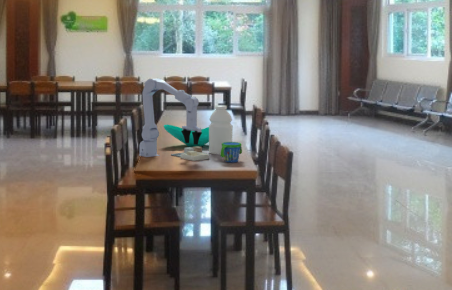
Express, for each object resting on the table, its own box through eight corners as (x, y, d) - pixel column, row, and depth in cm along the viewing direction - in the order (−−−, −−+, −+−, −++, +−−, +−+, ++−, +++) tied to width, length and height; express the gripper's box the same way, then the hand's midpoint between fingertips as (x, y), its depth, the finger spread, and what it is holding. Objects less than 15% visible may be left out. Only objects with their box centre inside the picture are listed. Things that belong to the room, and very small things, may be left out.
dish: (193, 161, 355) (193, 156, 354) (180, 159, 363) (180, 153, 363) (209, 159, 362) (209, 154, 362) (196, 156, 370) (196, 151, 370)
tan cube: (196, 154, 375) (196, 147, 375) (192, 153, 378) (192, 146, 378) (201, 153, 378) (202, 147, 377) (197, 153, 381) (197, 146, 380)
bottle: (233, 155, 378) (233, 107, 374) (209, 155, 377) (209, 106, 373) (231, 151, 392) (231, 104, 388) (208, 151, 391) (208, 104, 387)
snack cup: (227, 164, 347) (227, 145, 346) (214, 161, 355) (214, 143, 354) (248, 161, 358) (248, 143, 357) (234, 158, 366) (235, 140, 364)
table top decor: (164, 149, 395) (164, 128, 393) (162, 143, 422) (162, 122, 420) (229, 149, 400) (229, 127, 398) (223, 142, 427) (224, 122, 425)
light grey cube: (188, 155, 371) (188, 148, 371) (184, 154, 374) (184, 147, 374) (193, 154, 374) (193, 148, 374) (189, 154, 377) (189, 147, 376)
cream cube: (191, 159, 358) (191, 152, 358) (186, 158, 361) (186, 151, 361) (196, 158, 361) (196, 151, 360) (192, 157, 364) (192, 150, 363)
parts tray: (181, 158, 365) (181, 156, 364) (170, 156, 372) (170, 154, 372) (206, 155, 377) (206, 153, 376) (195, 153, 384) (195, 151, 384)
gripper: (205, 119, 355) (205, 144, 357) (189, 117, 366) (189, 141, 368) (195, 120, 350) (195, 145, 352) (179, 118, 361) (179, 142, 363)
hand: (191, 143), depth 360 cm, fingers open, 7 cm apart
